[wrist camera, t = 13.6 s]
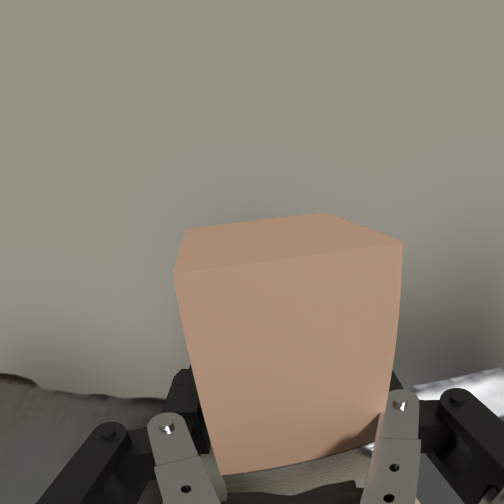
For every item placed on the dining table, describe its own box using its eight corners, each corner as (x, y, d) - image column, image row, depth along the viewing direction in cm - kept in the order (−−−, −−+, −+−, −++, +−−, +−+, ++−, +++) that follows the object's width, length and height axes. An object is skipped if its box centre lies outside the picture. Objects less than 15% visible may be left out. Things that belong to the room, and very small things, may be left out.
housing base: (233, 472, 14) (208, 365, 12) (324, 454, 15) (328, 344, 13) (246, 547, 10) (216, 459, 8) (355, 522, 10) (383, 419, 8)
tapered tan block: (212, 382, 13) (186, 228, 11) (328, 361, 13) (326, 212, 12) (220, 475, 8) (172, 273, 6) (378, 439, 8) (402, 241, 7)
